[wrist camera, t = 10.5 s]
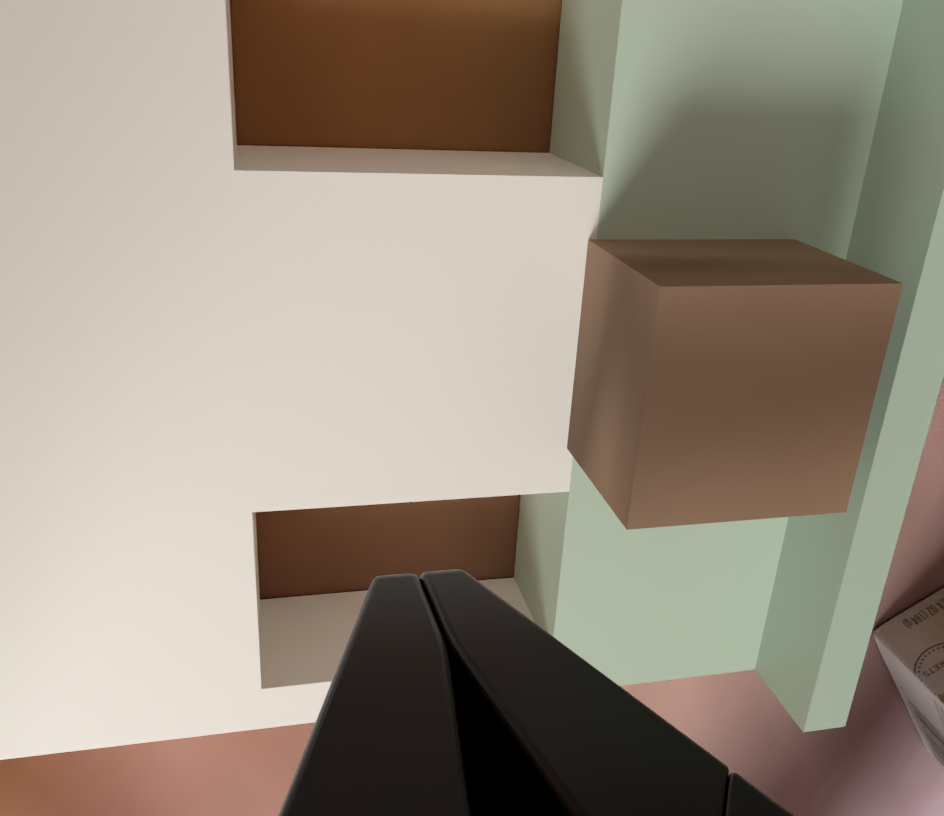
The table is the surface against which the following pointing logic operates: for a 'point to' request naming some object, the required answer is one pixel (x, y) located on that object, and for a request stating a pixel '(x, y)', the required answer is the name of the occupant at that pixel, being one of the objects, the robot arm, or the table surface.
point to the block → (725, 377)
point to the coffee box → (919, 666)
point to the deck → (418, 350)
